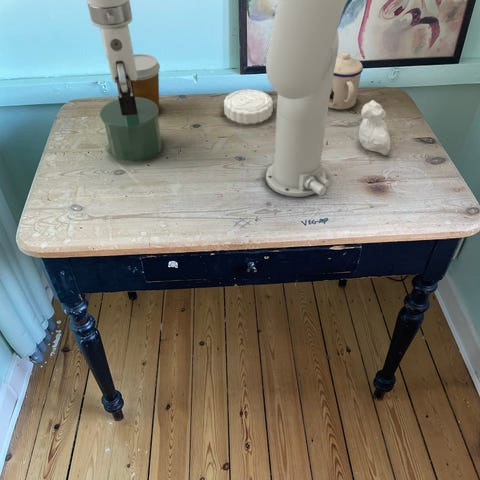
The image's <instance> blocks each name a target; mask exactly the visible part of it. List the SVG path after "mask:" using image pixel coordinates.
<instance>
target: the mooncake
mask: <svg viewBox="0 0 480 480" xmlns="http://www.w3.org/2000/svg"><path fill="white" fill-rule="evenodd" d="M273 109H274V102H273V98H272V97H271V96H270V94H268V93H266V92H264V91H262V90H258V89H251V88H250V89H249V88H246V89H239V90H235V91H234V92H230V93H229V94H228V95H227V96H225V98H224V100H223V112H224V116H226V118H227V119H229V120H231V121H232V122H237V123H238V124H245V125H246V124H247V125H248V124H257V123H262V122H263V121H265V120H268V119H269V117H270V118H271V116H272V114H273V111H274V110H273Z"/></svg>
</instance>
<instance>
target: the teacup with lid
mask: <svg viewBox="0 0 480 480" xmlns="http://www.w3.org/2000/svg"><path fill="white" fill-rule="evenodd" d="M363 70H364V67H363V64H362V62H361V61H360V60H358V59H357V58H354V57H352V56H351V54H350V53H349V52H348V51H347V52H346V51H345V52H342V53H341V55H340V56H339V55H338V56H337V59H336V64H335V69H334V74H333V80H332V85H331V91H330V98H329V105H328V108H329V109H333V110H347V109H350V108H353V107H354V106H355V105H356V103H357V98H358V93H359V87H360V81H361V75H362V72H363Z"/></svg>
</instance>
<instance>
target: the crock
mask: <svg viewBox="0 0 480 480" xmlns="http://www.w3.org/2000/svg"><path fill="white" fill-rule="evenodd" d="M158 116H159V115H158ZM158 116H157V117H156V118H155V120H153V121H152V122H151V123H149V124H147V125H144V126H141V127H138V128H132V129H118V128H113V127H110V126H108V125H106V124H105V123H104V127H105V131H106V135H107V140H108V144H109V145H108V146H109V149H110V153H111V155H112V156H114V157H115V158H116V159H118V160H120V161H123V162H134V163H135V162H142V161H146V160H149V159H151V158H154V157H155V156H156V155H158V154H159V153H160V151H161V149H162V147H163V145H162V136H161V131H160V124H159V117H158Z"/></svg>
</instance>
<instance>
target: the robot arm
mask: <svg viewBox="0 0 480 480" xmlns="http://www.w3.org/2000/svg"><path fill="white" fill-rule="evenodd" d="M130 1H131V0H86V2H87V7H88V12H89V16H90V21H91V24H92V25H93V26H95V27H97V28H99V31H100V35H101V41H102V44H103V45H102V46H103V49H104V53H105V57H106V62H107V65H108V70H109V72H110V75H111V80H112V82H113V83H115V84H116V87H117V92H118V95H117V99H119V103H120V108H121V113H122V115H123V116H126V115H134V114H137V107H136V102H135V96H134V94H133V93H134V89H133V83H132V80H135V81H136V80H137V72H136V66H135V60H134V55H135V54H134V48H133V42H132V36H131V31H130V28H129V24H131V23H132V21H133V13H132V7H131V2H130ZM348 1H349V0H277V1H276V2H277V3H276V7H275V11H274V17H273V22H272V28H271V32H270V38H269V42H268V47H267V53H266V57H265V59H266V60H265V71H266V77H267V79H268V82H269V84H270V86H271V88H272V89H273V90H274V91H275V92H276V94H277V103H276V116H275V117H276V119H275V135H274V136H275V137H274V157H273V163H272V164H271V165H270V166H269V167H268V168H267V170H266V173H265V179H266V184H267V185H268V186H269V188H270V189H272V190H273V191H274V192H276V193H278V194H281V195H283V196H287V197H293V198H302V197H308V196H311V195H314V194H317V195H318V196H320V197H321V196H324V195H325V193H326V192H327V188H328V187H329V186H330V184H331V180H329V179H328V178H327V174H326V171H325V170H324V166H323V165H322V164H321V161H322V155H323V148H324V147H323V146H324V139H325V132H326V126H327V125H326V124H327V118H328V113H329V112H328V111H329V107H328V105H329V98H330V91H331V85H332V80H333V74H334V69H335V64H336V59H337V57H338V53H339V46H340V45H339V41H340V40H339V32H338V28H339V26H340V25H339V24H340V22H341V20H342V19H341V18H342V15H343V12H344V10H345V7H346V4H347V3H348ZM127 83H128V85H129V87H128V86H127ZM120 85H121V87H120Z"/></svg>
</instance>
